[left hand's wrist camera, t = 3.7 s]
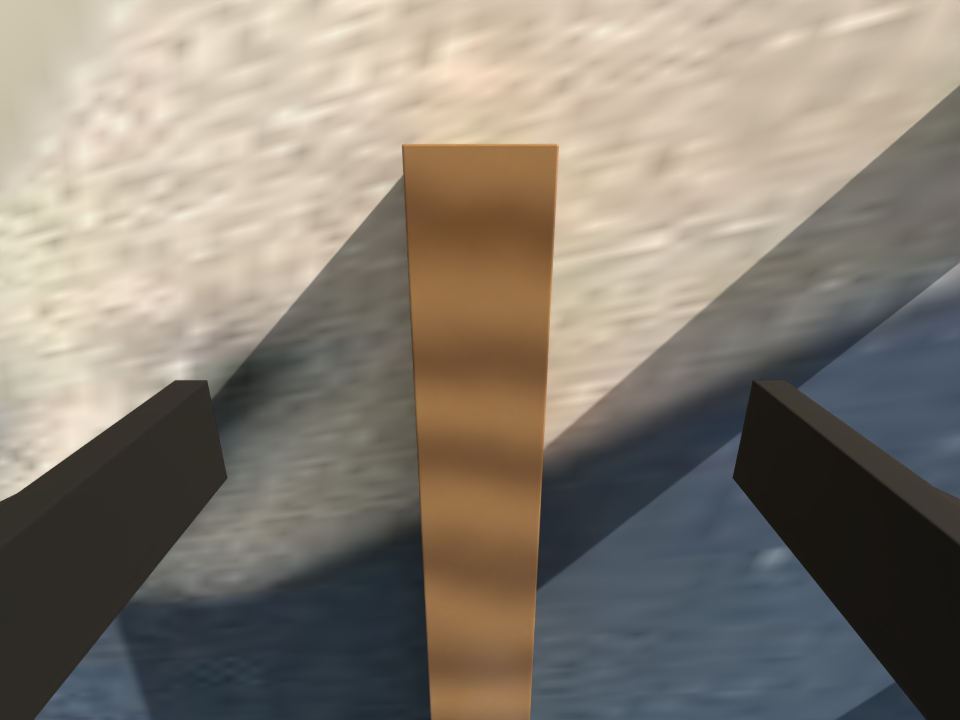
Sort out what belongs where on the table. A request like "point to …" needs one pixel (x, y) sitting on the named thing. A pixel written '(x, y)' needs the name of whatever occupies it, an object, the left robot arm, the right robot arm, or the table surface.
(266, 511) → the table surface
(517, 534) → the post
